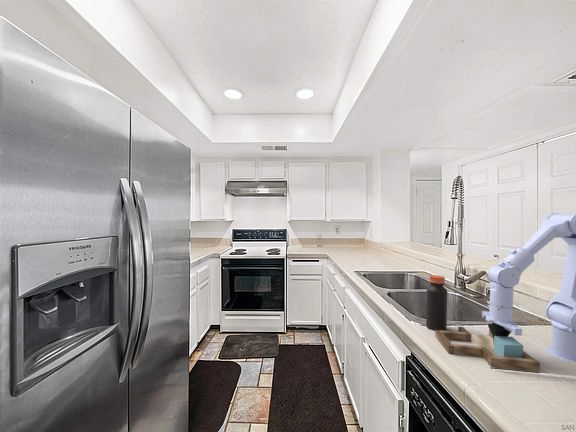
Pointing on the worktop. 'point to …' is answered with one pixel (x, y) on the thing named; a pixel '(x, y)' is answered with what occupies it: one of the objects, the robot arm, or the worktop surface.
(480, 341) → the wooden zigzag frame
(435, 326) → the bottle
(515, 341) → the block
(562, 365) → the worktop surface
